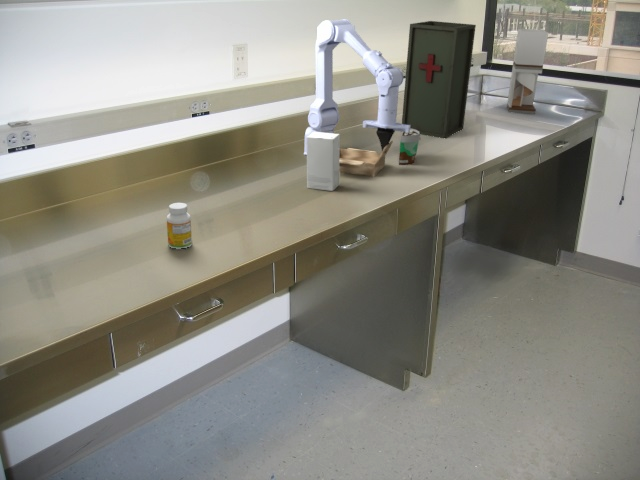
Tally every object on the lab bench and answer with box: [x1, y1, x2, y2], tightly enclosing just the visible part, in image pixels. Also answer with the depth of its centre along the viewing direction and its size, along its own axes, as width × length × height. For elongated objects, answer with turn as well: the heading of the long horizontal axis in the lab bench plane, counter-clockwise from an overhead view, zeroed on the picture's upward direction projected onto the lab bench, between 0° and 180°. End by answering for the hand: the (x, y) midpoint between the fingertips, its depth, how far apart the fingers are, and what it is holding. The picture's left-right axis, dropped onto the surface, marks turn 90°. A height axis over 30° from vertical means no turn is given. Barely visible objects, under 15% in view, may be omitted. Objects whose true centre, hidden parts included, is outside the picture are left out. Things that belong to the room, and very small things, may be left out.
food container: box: [398, 128, 422, 166], centre depth 216 cm, size 12×6×10 cm, turn 168°
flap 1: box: [339, 158, 365, 166], centre depth 200 cm, size 10×1×5 cm
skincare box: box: [306, 132, 341, 192], centre depth 188 cm, size 8×7×16 cm
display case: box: [506, 28, 550, 115], centre depth 291 cm, size 11×11×35 cm
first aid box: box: [401, 20, 477, 139], centre depth 251 cm, size 18×18×40 cm
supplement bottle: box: [166, 202, 193, 250], centre depth 148 cm, size 5×5×10 cm
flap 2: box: [377, 140, 394, 162], centre depth 204 cm, size 1×9×5 cm, turn 160°
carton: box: [339, 147, 386, 178], centre depth 210 cm, size 16×15×4 cm
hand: (384, 152), depth 204 cm, fingers closed, pressing on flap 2
